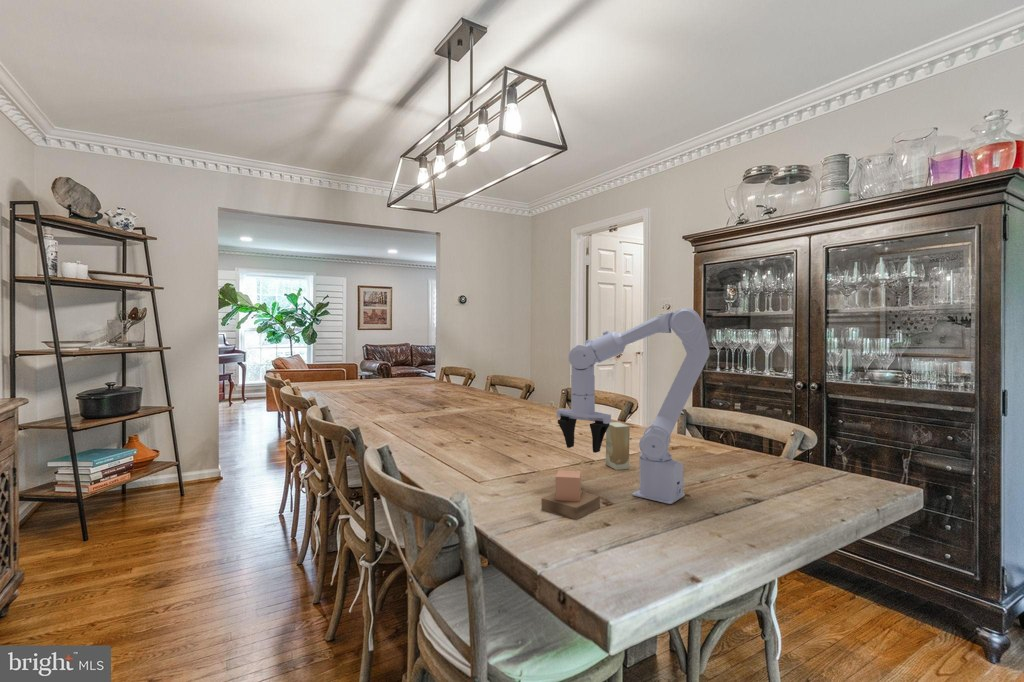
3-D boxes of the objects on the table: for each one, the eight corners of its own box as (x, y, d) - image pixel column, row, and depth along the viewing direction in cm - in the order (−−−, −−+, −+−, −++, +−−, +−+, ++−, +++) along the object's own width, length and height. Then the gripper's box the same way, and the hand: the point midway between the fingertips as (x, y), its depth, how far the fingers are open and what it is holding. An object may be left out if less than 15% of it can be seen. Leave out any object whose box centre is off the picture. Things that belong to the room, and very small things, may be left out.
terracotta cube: (581, 493, 108) (580, 471, 108) (579, 501, 104) (579, 477, 103) (558, 492, 109) (558, 470, 109) (556, 500, 104) (555, 476, 104)
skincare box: (605, 464, 142) (604, 422, 141) (618, 463, 143) (618, 421, 143) (616, 470, 135) (616, 426, 135) (630, 469, 137) (630, 425, 137)
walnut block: (599, 510, 107) (599, 496, 107) (576, 522, 100) (576, 507, 100) (565, 501, 113) (565, 488, 112) (541, 512, 106) (541, 498, 106)
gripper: (617, 394, 119) (617, 450, 119) (568, 390, 128) (568, 442, 128) (602, 397, 113) (602, 456, 113) (551, 393, 123) (551, 447, 123)
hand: (583, 449), depth 121 cm, fingers open, 7 cm apart
